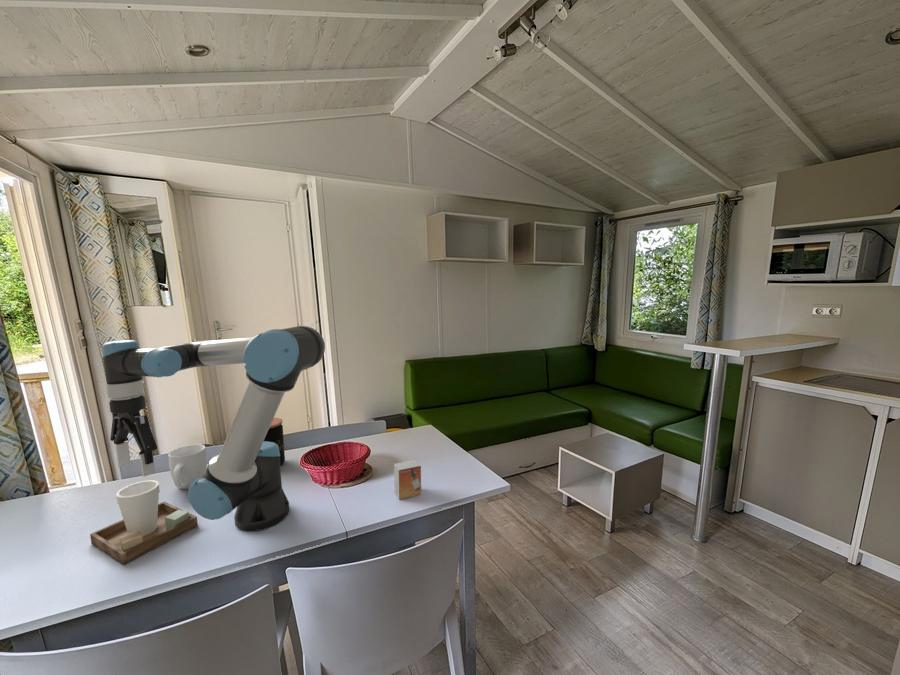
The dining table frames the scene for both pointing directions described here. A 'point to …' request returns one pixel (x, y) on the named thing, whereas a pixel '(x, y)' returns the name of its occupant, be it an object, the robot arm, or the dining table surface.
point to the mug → (187, 464)
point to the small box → (407, 479)
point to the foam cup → (139, 506)
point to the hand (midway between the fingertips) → (136, 469)
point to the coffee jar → (276, 437)
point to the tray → (111, 535)
